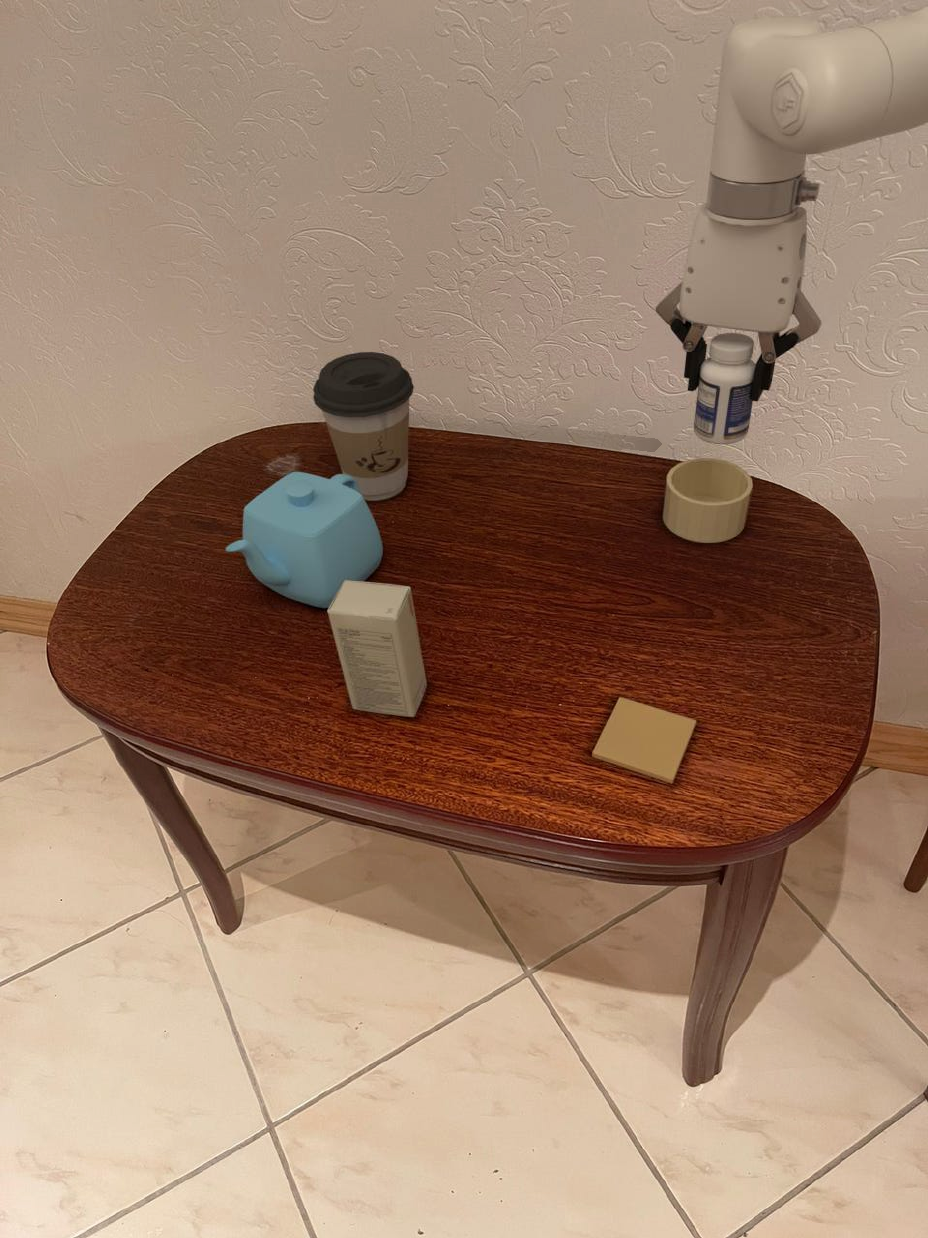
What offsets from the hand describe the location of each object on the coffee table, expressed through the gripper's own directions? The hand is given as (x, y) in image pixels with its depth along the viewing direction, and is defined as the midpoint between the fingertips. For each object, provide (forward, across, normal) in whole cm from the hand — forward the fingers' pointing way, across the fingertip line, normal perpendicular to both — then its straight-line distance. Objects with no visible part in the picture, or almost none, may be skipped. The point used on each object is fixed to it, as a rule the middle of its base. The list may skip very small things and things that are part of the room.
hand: (726, 388), depth 87 cm
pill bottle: (+5, 0, 0) cm, 5 cm away
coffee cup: (+16, +39, +7) cm, 42 cm away
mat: (+17, -3, +32) cm, 36 cm away
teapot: (+16, +36, +26) cm, 47 cm away
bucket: (+17, +1, -1) cm, 17 cm away
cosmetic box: (+17, +20, +36) cm, 45 cm away
